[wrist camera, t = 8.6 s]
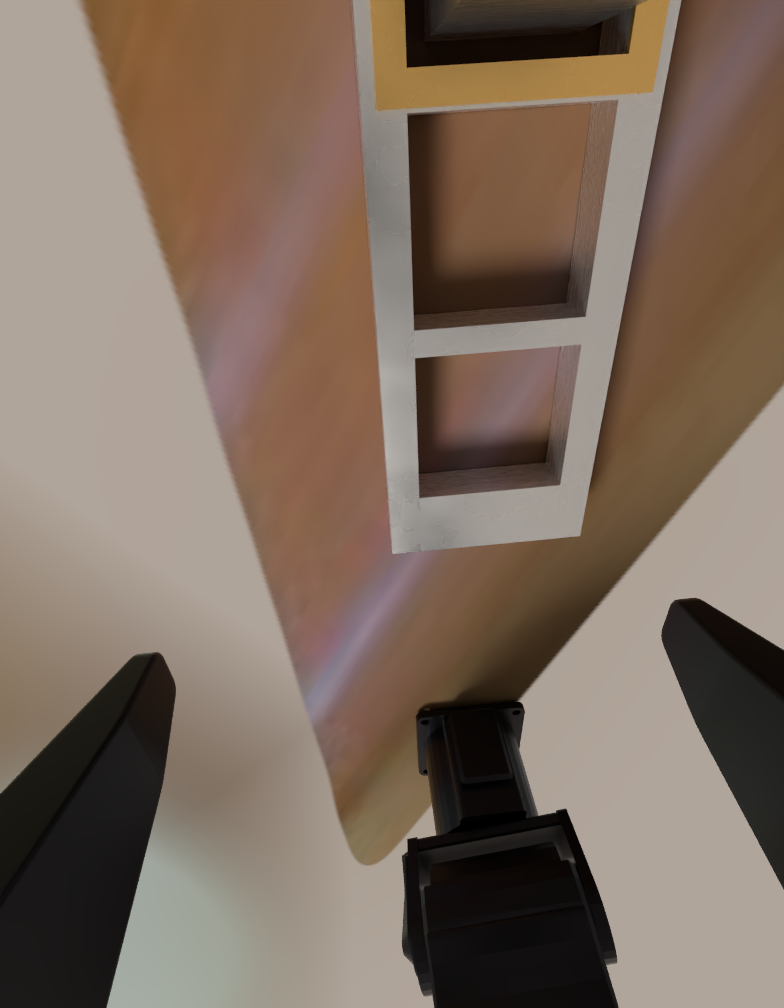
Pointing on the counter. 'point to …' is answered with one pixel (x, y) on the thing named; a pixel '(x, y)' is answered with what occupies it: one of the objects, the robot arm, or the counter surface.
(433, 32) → the gray knob block
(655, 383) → the counter surface
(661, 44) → the socket frame
